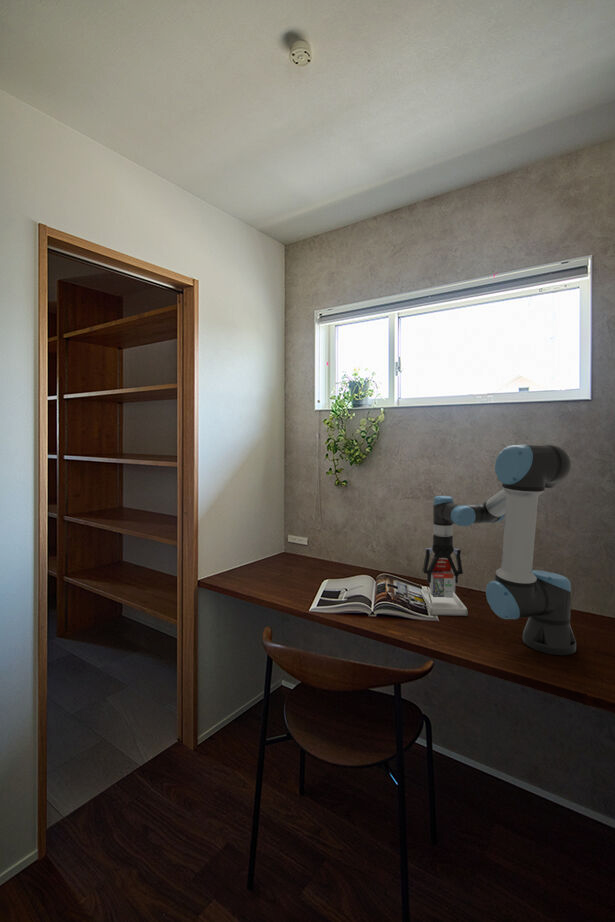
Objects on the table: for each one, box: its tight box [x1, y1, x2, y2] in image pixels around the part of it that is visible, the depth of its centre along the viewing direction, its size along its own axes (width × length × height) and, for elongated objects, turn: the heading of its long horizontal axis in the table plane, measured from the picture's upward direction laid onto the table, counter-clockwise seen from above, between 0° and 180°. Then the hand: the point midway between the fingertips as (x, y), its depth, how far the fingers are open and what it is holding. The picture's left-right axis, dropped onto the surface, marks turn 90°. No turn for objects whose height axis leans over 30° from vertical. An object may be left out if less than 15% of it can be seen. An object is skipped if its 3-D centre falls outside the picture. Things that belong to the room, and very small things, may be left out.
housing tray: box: [419, 589, 469, 617], centre depth 175 cm, size 22×14×2 cm, turn 176°
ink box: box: [431, 558, 454, 598], centre depth 174 cm, size 4×8×15 cm, turn 84°
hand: (442, 590), depth 175 cm, fingers closed on ink box, 8 cm apart
